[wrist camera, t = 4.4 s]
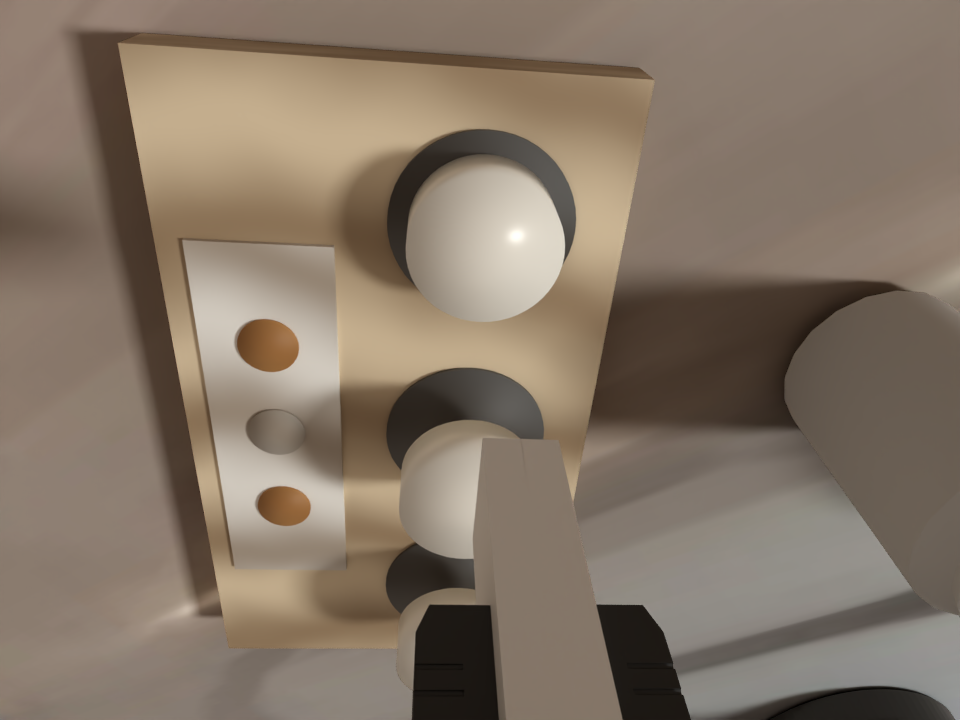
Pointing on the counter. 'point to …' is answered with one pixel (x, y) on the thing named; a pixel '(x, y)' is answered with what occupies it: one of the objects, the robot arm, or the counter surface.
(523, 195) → the button
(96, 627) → the counter surface
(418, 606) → the button
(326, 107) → the button board
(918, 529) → the can
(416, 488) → the button
